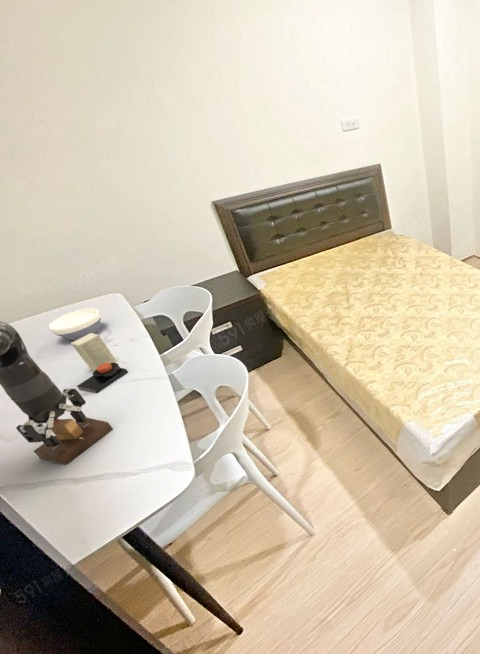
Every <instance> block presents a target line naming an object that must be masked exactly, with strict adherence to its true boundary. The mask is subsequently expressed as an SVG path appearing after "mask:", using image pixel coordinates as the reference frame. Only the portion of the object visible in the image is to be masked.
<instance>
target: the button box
mask: <svg viewBox="0 0 480 654" xmlns="http://www.w3.org/2000/svg"><path fill="white" fill-rule="evenodd" d="M110 364H111V365H112V367H113V368H112V369H111V370H109V371H108V372H105V373H101V374H100V373H99V372H98V371H97V369H96V370H95V371H94V370H93V372H92V376H91V377H89V378H87V379H85V380H84V381H82V382H81V383H79V384H78V385H76V388H77V389H78V390H79V391H84V392H90V393H94V394H99V393H100V392H101V391H103V390H104V389H106V388H108V387H109V386H111V385H112V384H113V383H115V382H116V381H118V380H119V379H121V378H122V377H123V376H125V375H127V374H128V373H129V371H128V369H127V368H123V367H121V366H120V365H119V364H118V363H117V362H114V363H110ZM117 379H118V380H117ZM114 381H115V382H114Z"/></svg>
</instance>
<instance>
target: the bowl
mask: <svg viewBox="0 0 480 654" xmlns="http://www.w3.org/2000/svg"><path fill="white" fill-rule="evenodd" d="M101 320H102V314H101V312H100V311H99V310H98V309H96V308H92V307H91V308H83V309H77V310H74V311H72V312H69V313H65V314H63V315H61V316H59V317H57V318H55V319H54V320H53V321H51V322H50V323H49V324H48V330H49V331H50V332H51V333H52V334H53V335H55V336H58V337H61V338H63V339H68V340H70V341H76V340H78V339H80V338H82V337H84V336H86V335H88V334H90V333H94V334H97V332H98V331H99V328H100V325H101Z"/></svg>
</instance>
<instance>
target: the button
mask: <svg viewBox="0 0 480 654" xmlns="http://www.w3.org/2000/svg"><path fill="white" fill-rule="evenodd" d="M112 368H113V367H112V365H111V364H110V363H104V364H101V365H99V366H98V367H97V368H96V369H97V371H98V372H99V373H100V374H101V373H105V372H108V371H109V370H111V369H112Z"/></svg>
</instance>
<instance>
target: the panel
mask: <svg viewBox="0 0 480 654" xmlns="http://www.w3.org/2000/svg"><path fill="white" fill-rule="evenodd" d="M85 419H86V421H85V422H80V423H78V422H76V421H75V422H76V424H77V425H78V426H79V427H80V428H81V430H82V431H83V433H82V434H81V435H80V436H79V437H78V438H77V439H67V440H59V439H58V437H57V436H56V435H53V436H54V437H55V438H56V439H57V441H58V442H59V443H60V444H59V445H58V446H54V447H48V446H46V445H45V444H44V443H43V444H41V445H39V446H38V447H36V448H35V449H34V450H33V453H34V454H35V455H36V456H37V457H38V458H39V459H40V460H41V459H42V460H45V461H49V462H53V463H57V464H61V465H64V466H67V465H69V464H70V463H71V462H72V461H74V460H75V459H76V458H77V457H79V456H80V455H81V454H82V453H84V452H85V451H86V450H88V449H89V448H91V447H92V446H93V445H95V444H96V443H97V442H98V441H100V440H101V439H102V438H103V437H105V436H106V435H108V434H109V433H110V432H111V431H113V430H114V428H113V427H112V425H111V424H110V423H109V422H108V421H104V420H99V419H94V418H91V417H86V418H85Z"/></svg>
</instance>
